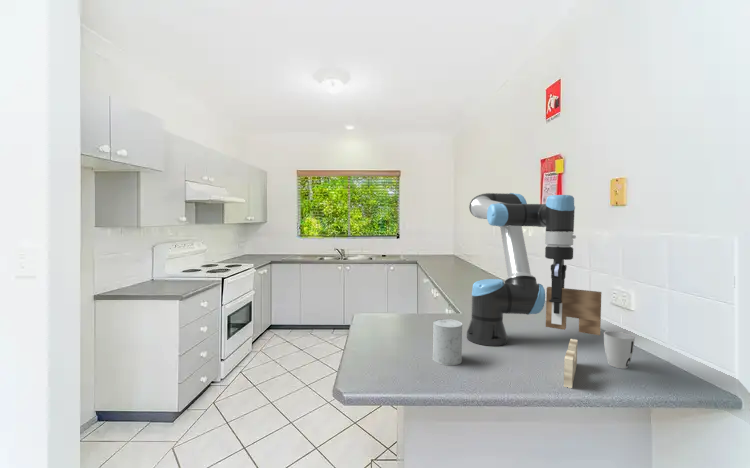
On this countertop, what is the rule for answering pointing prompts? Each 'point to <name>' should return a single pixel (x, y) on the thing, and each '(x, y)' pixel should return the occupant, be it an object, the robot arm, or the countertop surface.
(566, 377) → the maple plate
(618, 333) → the cup
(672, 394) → the countertop surface
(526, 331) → the countertop surface
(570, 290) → the brown wooden board
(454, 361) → the grey stone cylinder
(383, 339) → the countertop surface
